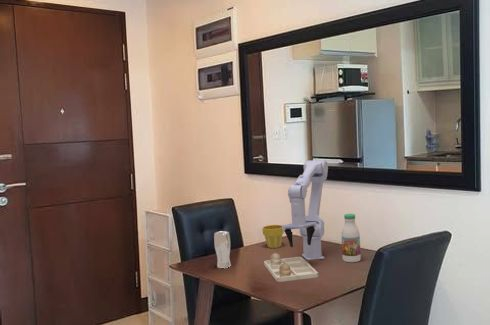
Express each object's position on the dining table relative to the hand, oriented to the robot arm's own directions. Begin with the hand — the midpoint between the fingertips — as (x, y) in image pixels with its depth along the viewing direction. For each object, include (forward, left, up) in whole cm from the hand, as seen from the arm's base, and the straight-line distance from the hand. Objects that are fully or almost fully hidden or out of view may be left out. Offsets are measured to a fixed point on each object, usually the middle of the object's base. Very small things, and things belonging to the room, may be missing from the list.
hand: (300, 245), depth 216 cm
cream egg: (-4, -10, -9) cm, 14 cm away
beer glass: (-14, -31, -10) cm, 35 cm away
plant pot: (-38, -3, -10) cm, 39 cm away
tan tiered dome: (+12, -10, -9) cm, 18 cm away
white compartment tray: (+4, -6, -9) cm, 12 cm away
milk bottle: (-2, +23, -10) cm, 25 cm away
